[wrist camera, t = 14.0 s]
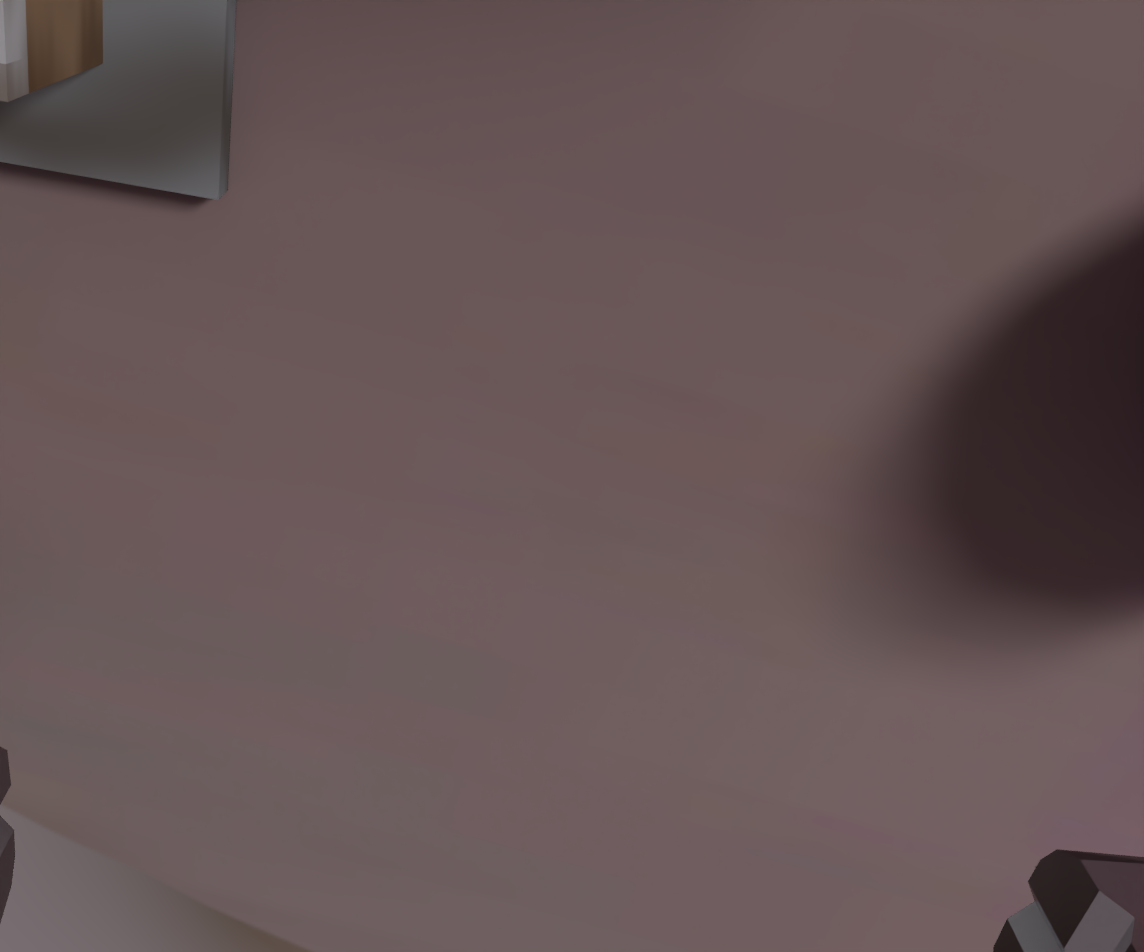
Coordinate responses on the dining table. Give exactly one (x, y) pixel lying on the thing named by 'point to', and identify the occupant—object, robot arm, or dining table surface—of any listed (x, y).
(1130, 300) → the dining table surface
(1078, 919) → the robot arm
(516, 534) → the dining table surface
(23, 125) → the display riser
